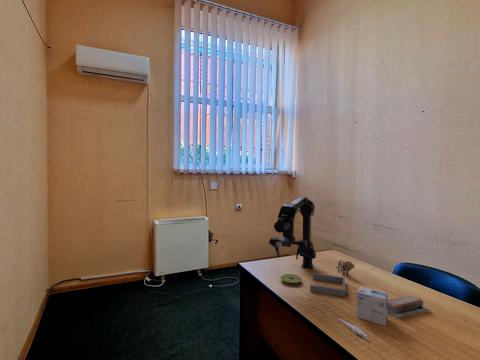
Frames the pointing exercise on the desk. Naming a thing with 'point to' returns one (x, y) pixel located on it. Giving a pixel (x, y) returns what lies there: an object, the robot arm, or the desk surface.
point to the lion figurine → (345, 266)
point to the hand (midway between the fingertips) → (287, 258)
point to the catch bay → (327, 289)
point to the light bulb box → (372, 305)
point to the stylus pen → (354, 329)
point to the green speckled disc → (291, 278)
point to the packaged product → (406, 306)
